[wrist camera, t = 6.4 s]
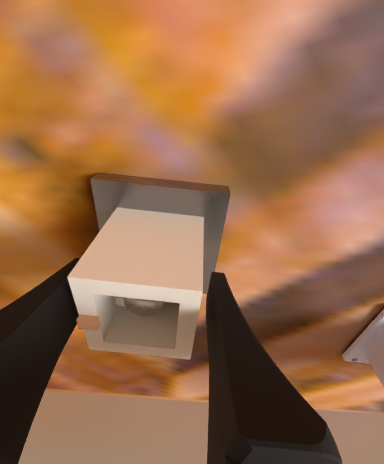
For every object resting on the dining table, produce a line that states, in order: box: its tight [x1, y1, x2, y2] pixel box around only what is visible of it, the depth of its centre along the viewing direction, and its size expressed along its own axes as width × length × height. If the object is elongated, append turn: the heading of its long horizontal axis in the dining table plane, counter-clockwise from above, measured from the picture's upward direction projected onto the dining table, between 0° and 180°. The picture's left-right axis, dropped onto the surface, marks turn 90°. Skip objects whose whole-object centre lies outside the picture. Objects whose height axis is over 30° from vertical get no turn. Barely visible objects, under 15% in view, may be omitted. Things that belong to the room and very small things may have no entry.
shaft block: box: [90, 173, 230, 316], centre depth 13 cm, size 8×8×6 cm
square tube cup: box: [67, 207, 204, 360], centre depth 12 cm, size 5×5×6 cm
